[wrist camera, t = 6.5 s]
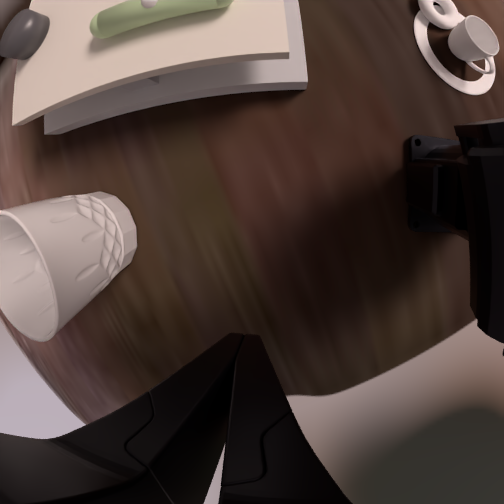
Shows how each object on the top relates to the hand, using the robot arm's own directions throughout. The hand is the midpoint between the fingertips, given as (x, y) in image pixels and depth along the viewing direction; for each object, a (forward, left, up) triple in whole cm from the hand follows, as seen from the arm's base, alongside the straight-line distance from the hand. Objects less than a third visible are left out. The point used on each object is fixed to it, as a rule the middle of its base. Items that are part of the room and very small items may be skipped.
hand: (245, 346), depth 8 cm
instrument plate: (+7, -17, -7) cm, 19 cm away
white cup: (+13, -1, -12) cm, 18 cm away
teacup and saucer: (-17, -17, -13) cm, 27 cm away
